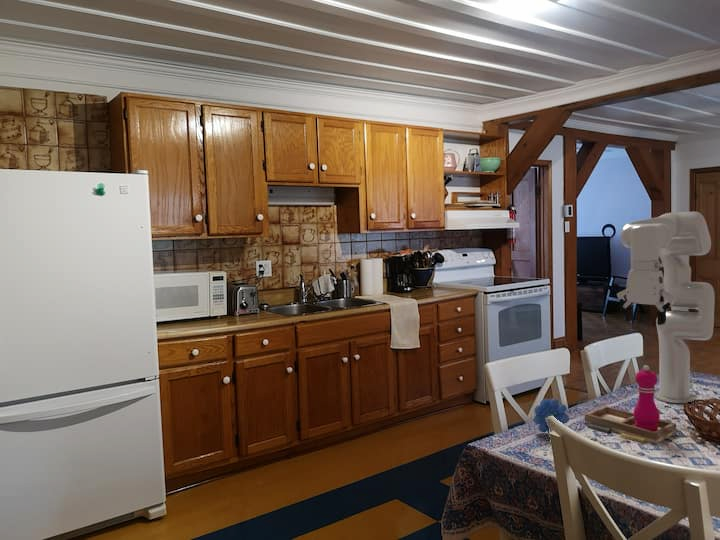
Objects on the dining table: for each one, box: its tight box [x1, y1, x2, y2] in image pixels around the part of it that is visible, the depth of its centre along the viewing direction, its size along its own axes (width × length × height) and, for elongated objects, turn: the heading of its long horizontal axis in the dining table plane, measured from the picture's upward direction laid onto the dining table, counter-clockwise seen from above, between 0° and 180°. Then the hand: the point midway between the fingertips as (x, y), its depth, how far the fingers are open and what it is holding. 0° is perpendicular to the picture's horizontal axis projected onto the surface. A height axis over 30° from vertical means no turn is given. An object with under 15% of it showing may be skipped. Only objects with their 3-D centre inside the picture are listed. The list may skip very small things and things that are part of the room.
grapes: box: [533, 397, 570, 434], centre depth 176 cm, size 12×7×12 cm, turn 43°
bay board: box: [584, 405, 677, 444], centre depth 178 cm, size 14×23×3 cm, turn 36°
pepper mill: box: [632, 364, 661, 432], centre depth 173 cm, size 7×7×20 cm
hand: (645, 322), depth 172 cm, fingers open, 9 cm apart
